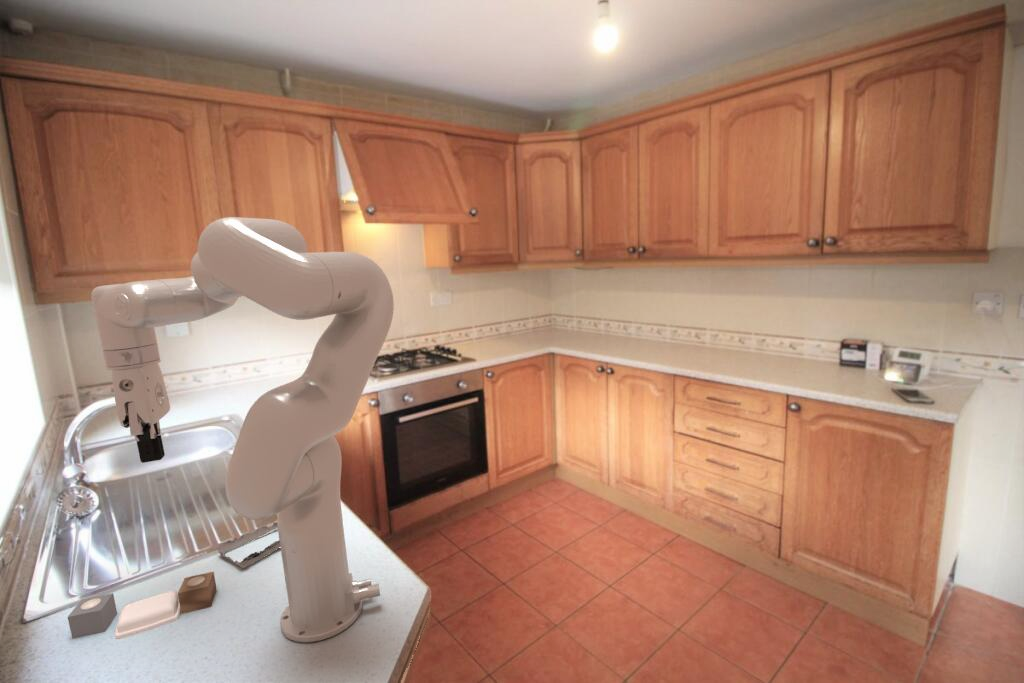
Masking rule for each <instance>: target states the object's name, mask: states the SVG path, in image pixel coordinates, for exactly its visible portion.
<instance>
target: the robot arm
mask: <svg viewBox="0 0 1024 683" xmlns="http://www.w3.org/2000/svg"><path fill="white" fill-rule="evenodd" d="M190 274H191V276H187V277H179V278H178V277H177V278H175V277H173V278H161V279H149V280H148V279H147V280H138V281H137V280H136V281H130V282H129V281H128V282H125V283H117V284H115V283H113V284H108V285H107V284H105V285H100V286H99V285H98V286H97V287H95V288H93V290H92V291H91V297H90V298H91V302H92V306H93V311H94V317H95V320H96V325H97V329H98V334H99V340H100V343H101V349H102V354H103V359H104V363H105V368H106V370H107V371H111V378H112V379H111V380H112V387H113V395H114V402H115V408H116V413H117V417H118V420H119V424H120V426H121V427H122V428H125V429H127V428H129V432H130V436H131V437H134V438H135V439H134V440H135V441H136V444H137V446H136V447H137V450H138V454H139V455H138V456H139V460H140V463H143V464H144V463H149V462H155V461H156V462H157V461H160V460H162V459H163V458H164V457H165V455H166V454H165V449H164V448H165V447H164V444H163V440H162V435H161V433H162V432H161V426H160V425H161V424H160V420H161V419H163V418H164V417H165V416H166V415H167V414H168V413H169V412H170V410H171V404H170V400H169V397H168V396H169V395H168V392H167V388H166V384H165V380H164V376H163V373H162V370H161V368H160V364H159V363H161V355H160V351H159V346H158V342H157V341H158V340H157V334H156V329H155V328H159V327H163V326H170V325H175V324H182V323H188V322H194V321H198V320H202V319H205V318H208V317H210V316H213V315H215V314H217V313H221V312H223V311H225V310H227V309H229V308H231V307H233V306H234V305H235V304H236V302H237V301H239V298H241V297H245V298H247V299H249V300H250V301H252V302H254V303H256V304H258V305H260V306H261V307H263V308H265V309H267V310H268V311H271V312H272V313H275V314H276V315H278V316H280V317H281V316H282V317H283V318H287V319H291V320H298V321H307V320H313V319H317V318H318V319H319V318H324V317H327V316H328V317H329V316H334V318H333V319H332V321H331V322H330V324H328V326H327V327H326V329H325V330H324V331H323V333H322V334H321V336H320V337H319V338H318V341H317V342H316V343H315V346H314V348H313V352H312V355H311V357H310V360H309V362H308V364H307V366H306V368H305V370H304V372H303V373H302V374H301V375H300V377H298V378H297V379H295V380H293V381H290V382H287V383H285V384H283V385H280V386H277V387H275V388H272V389H269V390H267V391H266V392H265V393H263V394H262V395H260V396H259V397H258V398H257V400H255V401H254V402H253V404H252V405H251V406H250V408H249V409H248V410H247V413H246V415H245V418H244V420H243V423H242V425H241V429H240V432H239V434H238V438H237V439H236V440H237V441H236V442H235V446H234V448H233V451H232V454H231V457H230V460H229V463H228V466H227V471H226V474H225V481H224V482H225V484H224V485H225V487H224V488H225V494H226V498H227V501H228V503H229V505H230V506H231V508H232V509H233V511H234V512H235V513H236V514H238V515H239V516H241V517H243V518H244V519H248V520H255V521H257V520H258V521H259V520H266V519H269V518H271V517H274V516H275V515H277V517H276V518H277V521H276V522H277V523H278V530H277V531H278V532H277V533H278V538H279V539H278V541H280V547H281V548H280V552H281V553H280V554H281V561H282V566H283V567H282V568H283V574H284V582H285V589H286V594H287V595H286V596H287V602H288V606H287V607H286V608H285V609H284V611H283V612H282V614H281V617H280V622H279V623H280V629H281V632H282V634H283V635H284V636H285V637H286V638H287V639H289V640H291V641H293V642H294V641H295V642H298V643H314V642H319V641H323V640H326V639H330V638H331V637H333V636H336V635H338V634H340V633H341V632H343V631H345V630H346V629H348V628H349V627H351V625H352V624H353V623H354V622H355V621H357V619H358V617H359V616H360V614H361V612H362V610H363V600H366V599H373V598H378V597H380V596H381V593H380V592H381V590H380V584H379V583H374V584H372V579H371V578H366V579H363V580H360V581H357V580H354V579H353V573H352V572H350V570H349V563H348V561H349V560H348V554H347V547H346V546H347V545H346V538H345V530H344V523H343V521H344V520H343V512H342V511H343V510H342V501H341V477H342V476H341V475H342V465H343V464H342V451H341V447H340V444H339V442H338V440H337V439H336V437H335V435H337V434H338V433H339V432H342V431H343V430H344V429H345V428H346V427H347V426H348V425H349V424H350V422H351V421H352V419H353V416H354V414H355V411H356V409H357V406H358V404H359V401H360V399H361V398H362V394H363V392H364V390H365V388H366V385H367V382H368V380H369V378H370V375H371V374H372V370H373V368H374V365H375V363H376V361H377V358H378V357H379V354H380V352H381V350H382V348H383V346H384V343H385V341H386V339H387V338H388V337H387V336H388V334H389V331H390V328H391V326H392V321H393V317H394V308H395V304H394V295H393V290H392V286H391V284H390V281H389V280H388V277H387V275H386V273H385V272H384V271H383V269H382V268H381V267H380V266H379V264H378V263H376V262H375V260H373V259H372V258H369V257H368V256H366V255H362V254H359V253H357V252H356V253H355V252H351V251H350V252H349V251H321V252H318V251H317V252H308V247H307V243H306V240H305V237H304V236H303V234H302V233H301V232H300V231H299V230H298V229H297V228H295V226H293V225H291V224H290V223H287V222H285V221H283V220H278V219H273V218H259V217H256V218H255V217H239V216H237V217H236V216H235V217H234V216H228V217H222V218H218V219H217V220H214V221H213V222H211V223H210V224H208V225H207V226H206V227H205V228H204V229H203V231H202V232H201V234H200V236H199V239H198V242H197V252H196V253H195V254H194V256H193V257H192V258H191V261H190Z"/></svg>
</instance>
